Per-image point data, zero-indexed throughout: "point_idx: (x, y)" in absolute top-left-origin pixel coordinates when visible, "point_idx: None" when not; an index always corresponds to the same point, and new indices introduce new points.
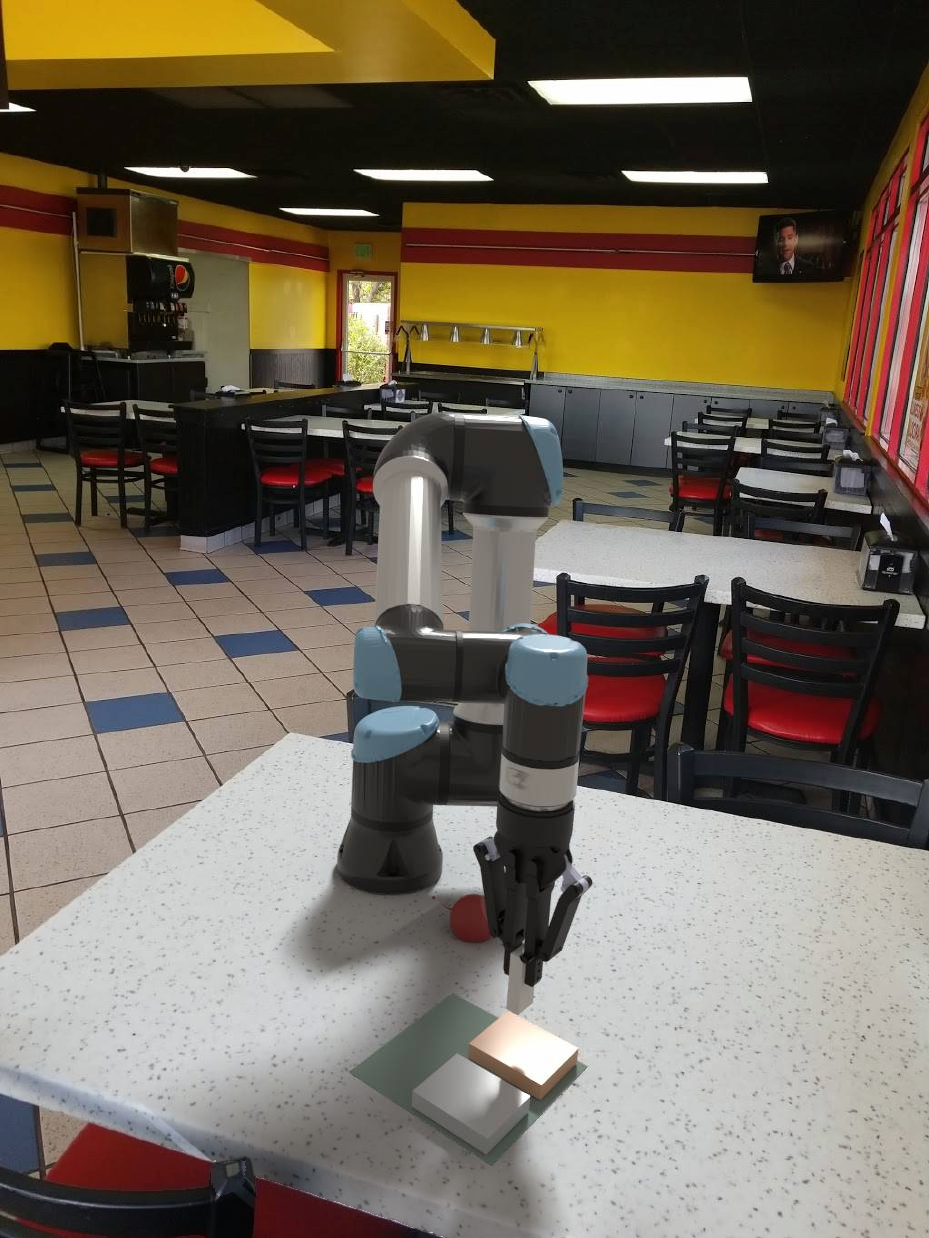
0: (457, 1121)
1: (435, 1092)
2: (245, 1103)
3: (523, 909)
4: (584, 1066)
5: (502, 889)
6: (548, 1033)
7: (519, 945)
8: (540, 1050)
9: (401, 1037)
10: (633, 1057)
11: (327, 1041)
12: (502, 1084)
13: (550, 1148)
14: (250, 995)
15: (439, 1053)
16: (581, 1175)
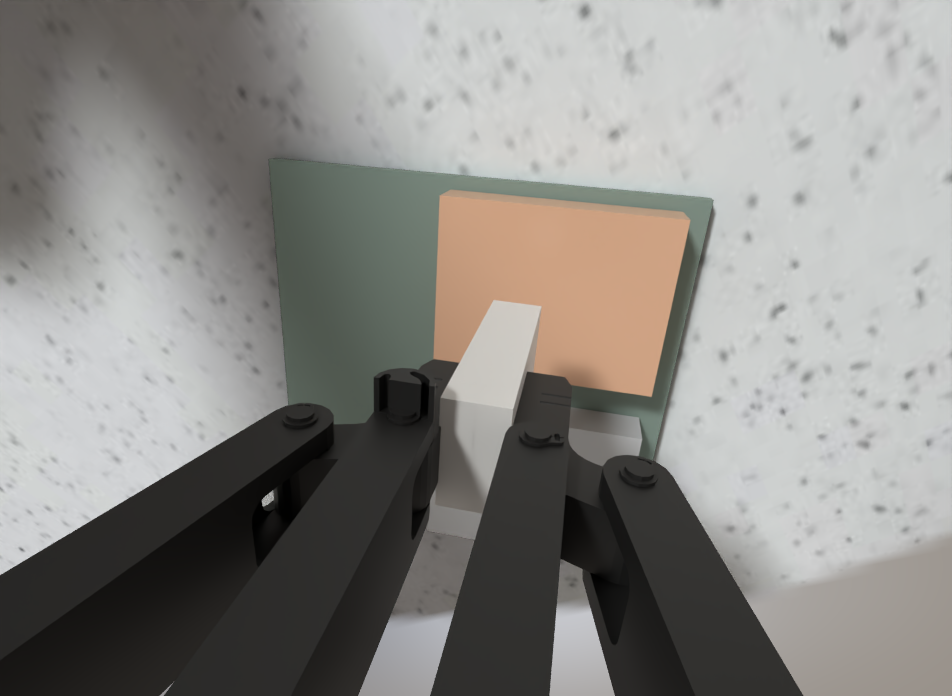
0: None
1: (464, 516)
2: None
3: (365, 604)
4: (705, 207)
5: (129, 623)
6: (585, 214)
7: (437, 453)
8: (596, 290)
9: (296, 365)
10: (828, 49)
11: (207, 428)
12: (568, 437)
13: (712, 453)
14: (24, 402)
15: (386, 364)
16: (797, 482)
